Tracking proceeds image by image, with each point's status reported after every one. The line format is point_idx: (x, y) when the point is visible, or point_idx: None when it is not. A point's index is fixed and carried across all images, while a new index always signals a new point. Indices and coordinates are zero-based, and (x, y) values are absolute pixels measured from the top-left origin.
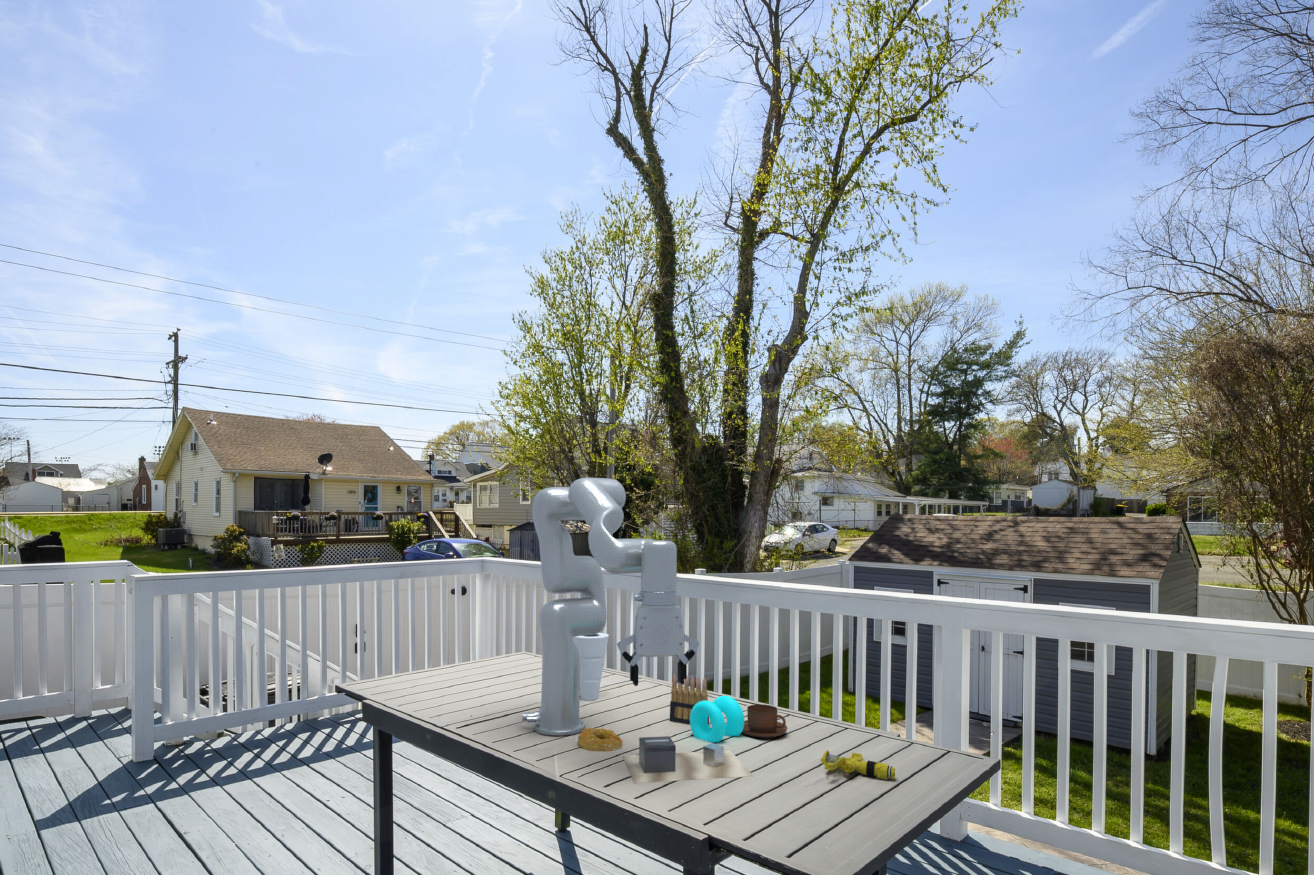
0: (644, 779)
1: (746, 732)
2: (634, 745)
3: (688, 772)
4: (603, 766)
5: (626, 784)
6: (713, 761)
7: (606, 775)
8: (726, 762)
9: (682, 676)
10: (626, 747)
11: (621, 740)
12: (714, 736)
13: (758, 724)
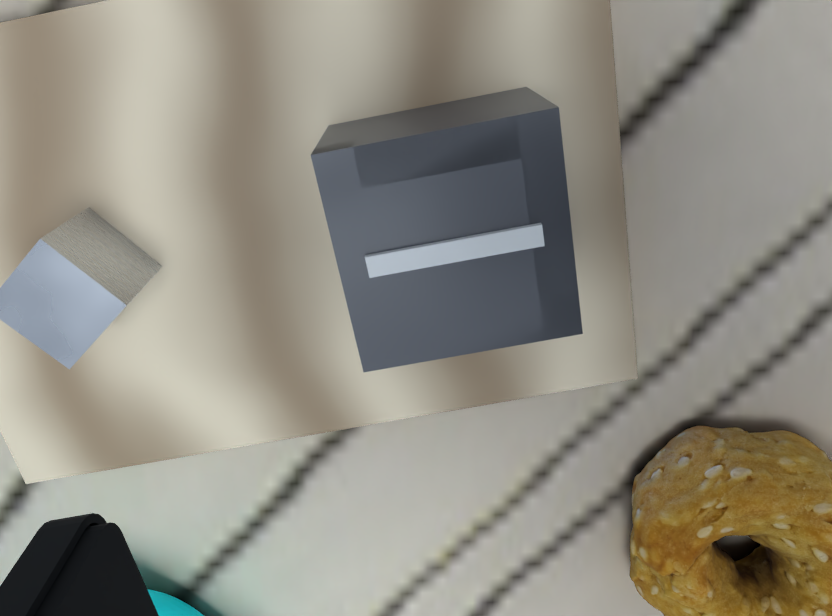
0: None
1: None
2: (548, 595)
3: (245, 112)
4: (733, 308)
5: (626, 25)
6: (81, 220)
7: (731, 171)
8: None
9: (15, 611)
10: (590, 569)
11: (640, 545)
12: None
13: None
